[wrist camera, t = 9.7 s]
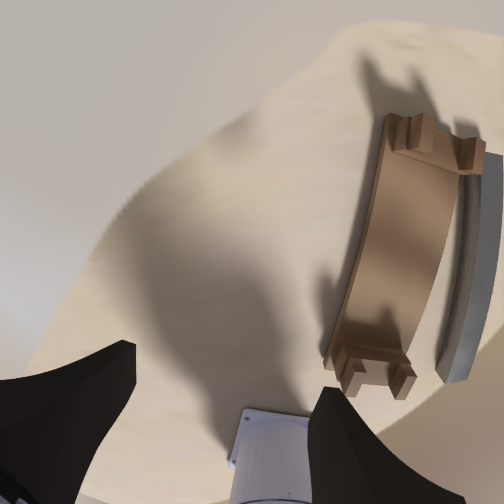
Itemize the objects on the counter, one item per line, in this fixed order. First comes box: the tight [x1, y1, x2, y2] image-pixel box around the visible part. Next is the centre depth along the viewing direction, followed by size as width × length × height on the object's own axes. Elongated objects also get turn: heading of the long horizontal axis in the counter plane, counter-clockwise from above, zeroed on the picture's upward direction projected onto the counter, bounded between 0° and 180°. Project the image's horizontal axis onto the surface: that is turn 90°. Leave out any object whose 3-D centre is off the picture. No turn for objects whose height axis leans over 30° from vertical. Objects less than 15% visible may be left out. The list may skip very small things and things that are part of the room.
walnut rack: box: [323, 113, 486, 400], centre depth 17 cm, size 18×6×5 cm, turn 170°
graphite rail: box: [435, 152, 503, 385], centre depth 18 cm, size 18×2×2 cm, turn 2°
